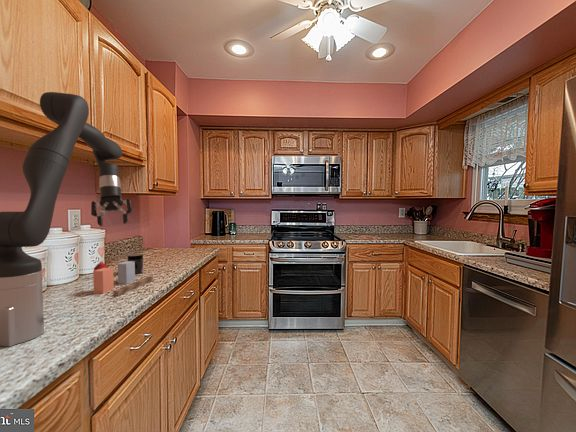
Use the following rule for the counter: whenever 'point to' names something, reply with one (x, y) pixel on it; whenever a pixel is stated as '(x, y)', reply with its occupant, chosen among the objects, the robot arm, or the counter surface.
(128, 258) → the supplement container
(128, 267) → the grey rectangular block
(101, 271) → the orange rectangular block
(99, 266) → the onion
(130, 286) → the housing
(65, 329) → the counter surface
